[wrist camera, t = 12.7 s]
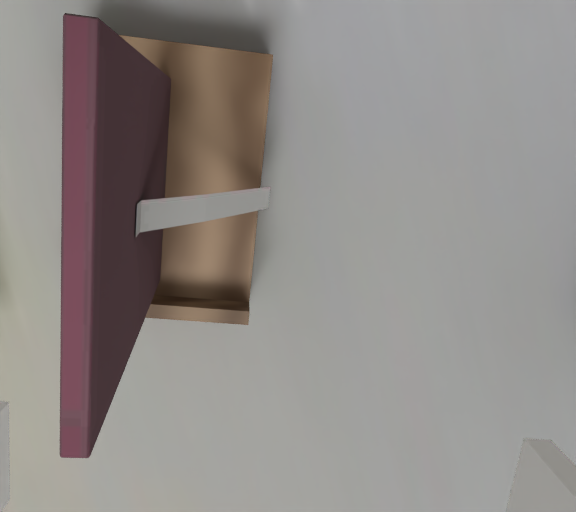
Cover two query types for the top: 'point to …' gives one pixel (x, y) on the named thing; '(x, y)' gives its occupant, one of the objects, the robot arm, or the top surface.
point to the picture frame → (114, 216)
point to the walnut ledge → (210, 175)
